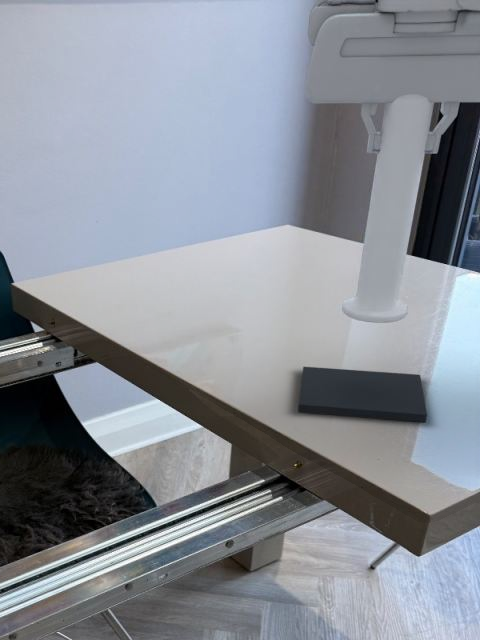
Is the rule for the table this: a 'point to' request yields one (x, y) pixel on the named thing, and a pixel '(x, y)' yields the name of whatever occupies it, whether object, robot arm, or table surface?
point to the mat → (362, 394)
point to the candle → (391, 211)
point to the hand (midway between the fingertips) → (401, 152)
